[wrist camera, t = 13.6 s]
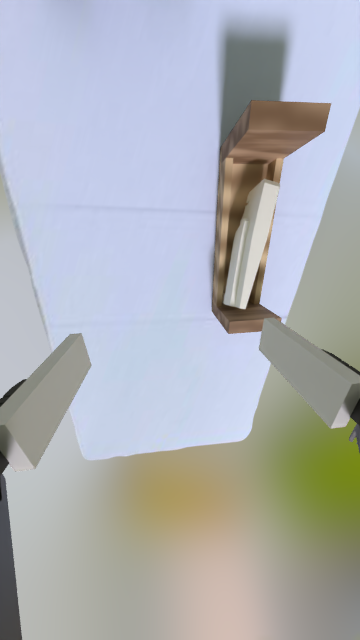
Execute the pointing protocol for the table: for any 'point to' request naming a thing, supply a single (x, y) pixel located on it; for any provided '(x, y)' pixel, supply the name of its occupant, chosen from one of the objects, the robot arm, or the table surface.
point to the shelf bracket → (250, 243)
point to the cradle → (244, 175)
